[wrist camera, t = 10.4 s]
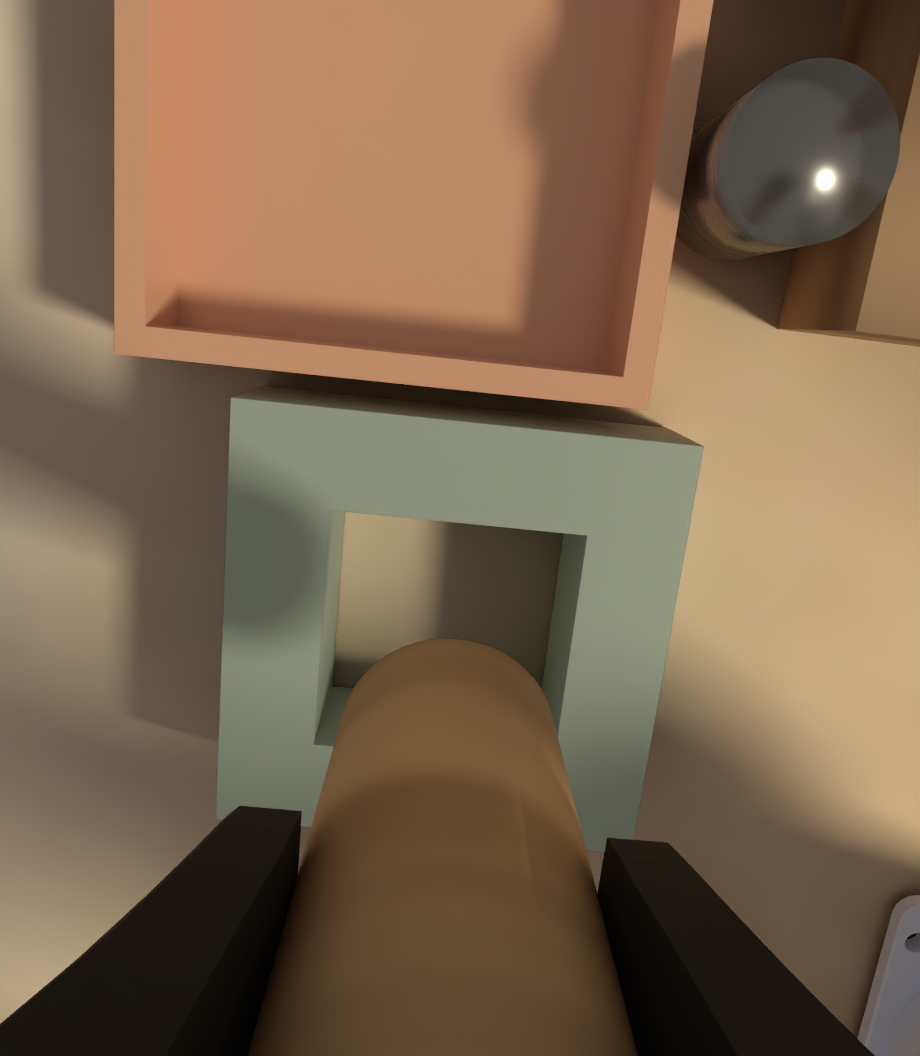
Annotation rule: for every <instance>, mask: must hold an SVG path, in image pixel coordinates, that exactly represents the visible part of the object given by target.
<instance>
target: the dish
mask: <svg viewBox="0 0 920 1056" xmlns="http://www.w3.org/2000/svg"><path fill="white" fill-rule="evenodd" d="M713 1H714V0H114V354H120V355H130V356H139V357H149V358H158V359H168V360H178V361H187V362H197V363H206V364H216V365H225V366H235V367H244V368H254V369H263V370H273V371H282V372H292V373H301V374H311V375H321V376H330V377H340V378H349V379H359V380H368V381H378V382H387V383H397V384H406V385H416V386H425V387H435V388H445V389H454V390H464V391H473V392H483V393H492V394H502V395H511V396H521V397H530V398H540V399H549V400H559V401H568V402H578V403H588V404H597V405H607V406H616V407H626V408H635V409H645V410H648V406H649V400H650V394H651V387H652V381H653V375H654V369H655V362H656V356H657V350H658V344H659V337H660V331H661V325H662V319H663V313H664V306H665V300H666V294H667V288H668V281H669V275H670V269H671V263H672V256H673V250H674V244H675V238H676V232H677V225H678V219H679V213H680V207H681V200H682V194H683V188H684V182H685V175H686V169H687V163H688V157H689V150H690V144H691V138H692V132H693V126H694V119H695V113H696V107H697V101H698V94H699V88H700V82H701V76H702V69H703V63H704V57H705V51H706V45H707V38H708V32H709V26H710V20H711V13H712V7H713Z"/></svg>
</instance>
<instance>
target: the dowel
mask: <svg viewBox="0 0 920 1056" xmlns="http://www.w3.org/2000/svg"><path fill="white" fill-rule="evenodd" d="M247 1056H638V1054H637V1050H636V1046H635V1042H634V1038H633V1034H632V1030H631V1026H630V1022H629V1019H628V1015H627V1011H626V1007H625V1003H624V999H623V995H622V991H621V987H620V983H619V979H618V975H617V971H616V967H615V963H614V959H613V955H612V951H611V947H610V943H609V939H608V935H607V931H606V927H605V923H604V919H603V915H602V911H601V907H600V903H599V899H598V895H597V891H596V887H595V883H594V879H593V876H592V872H591V868H590V864H589V860H588V856H587V852H586V848H585V844H584V840H583V836H582V832H581V828H580V824H579V820H578V816H577V812H576V808H575V804H574V800H573V796H572V792H571V788H570V784H569V780H568V776H567V772H566V768H565V764H564V760H563V756H562V752H561V748H560V744H559V740H558V736H557V732H556V729H555V725H554V721H553V717H552V713H551V709H550V707H549V704H548V701H547V699H546V697H545V695H544V693H543V691H542V689H541V688H540V686H539V685H538V683H537V682H536V681H535V679H534V678H533V677H532V675H531V674H530V673H529V672H528V671H527V670H526V669H525V668H524V667H523V666H521V665H520V664H519V663H518V662H516V661H515V660H514V659H512V658H511V657H509V656H508V655H506V654H504V653H503V652H501V651H499V650H497V649H494V648H492V647H490V646H487V645H484V644H481V643H477V642H474V641H468V640H462V639H433V640H426V641H422V642H417V643H414V644H411V645H408V646H405V647H402V648H400V649H398V650H396V651H394V652H392V653H390V654H388V655H387V656H385V657H384V658H382V659H381V660H379V661H378V662H377V663H376V664H375V665H373V666H372V667H371V668H370V669H369V670H368V671H367V672H366V673H365V674H364V675H363V676H362V678H361V679H360V680H359V681H358V683H357V684H356V686H355V687H354V689H353V690H352V692H351V694H350V696H349V698H348V700H347V703H346V705H345V708H344V712H343V715H342V718H341V722H340V726H339V729H338V733H337V736H336V740H335V743H334V747H333V751H332V754H331V758H330V761H329V765H328V769H327V772H326V776H325V779H324V783H323V786H322V790H321V794H320V797H319V801H318V804H317V808H316V812H315V815H314V819H313V822H312V826H311V829H310V833H309V837H308V840H307V844H306V847H305V851H304V855H303V858H302V862H301V865H300V869H299V872H298V877H297V880H296V884H295V887H294V891H293V895H292V898H291V902H290V905H289V909H288V912H287V916H286V920H285V923H284V927H283V930H282V934H281V938H280V941H279V945H278V948H277V952H276V955H275V959H274V962H273V966H272V969H271V973H270V976H269V980H268V984H267V987H266V991H265V994H264V998H263V1001H262V1005H261V1009H260V1012H259V1016H258V1019H257V1023H256V1027H255V1030H254V1034H253V1037H252V1041H251V1044H250V1048H249V1052H248V1055H247Z"/></svg>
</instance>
